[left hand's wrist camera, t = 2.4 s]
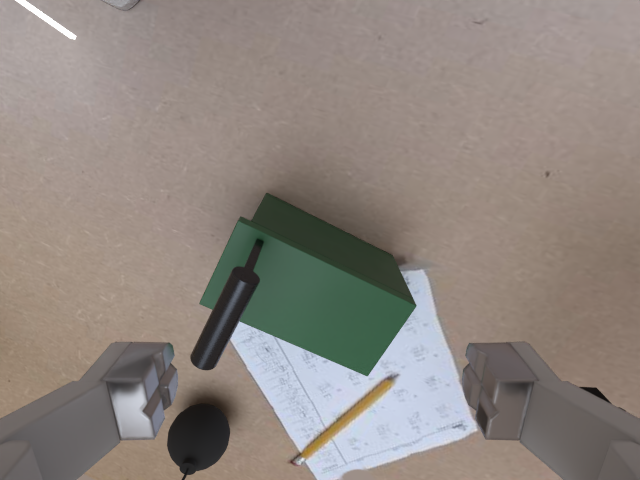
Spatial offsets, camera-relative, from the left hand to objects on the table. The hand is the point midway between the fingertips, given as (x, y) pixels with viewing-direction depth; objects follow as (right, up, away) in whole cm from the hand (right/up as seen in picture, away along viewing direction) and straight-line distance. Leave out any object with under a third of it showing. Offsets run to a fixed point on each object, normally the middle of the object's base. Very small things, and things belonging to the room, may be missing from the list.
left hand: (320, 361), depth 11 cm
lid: (-1, -2, +25) cm, 25 cm away
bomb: (-16, -21, +44) cm, 51 cm away
